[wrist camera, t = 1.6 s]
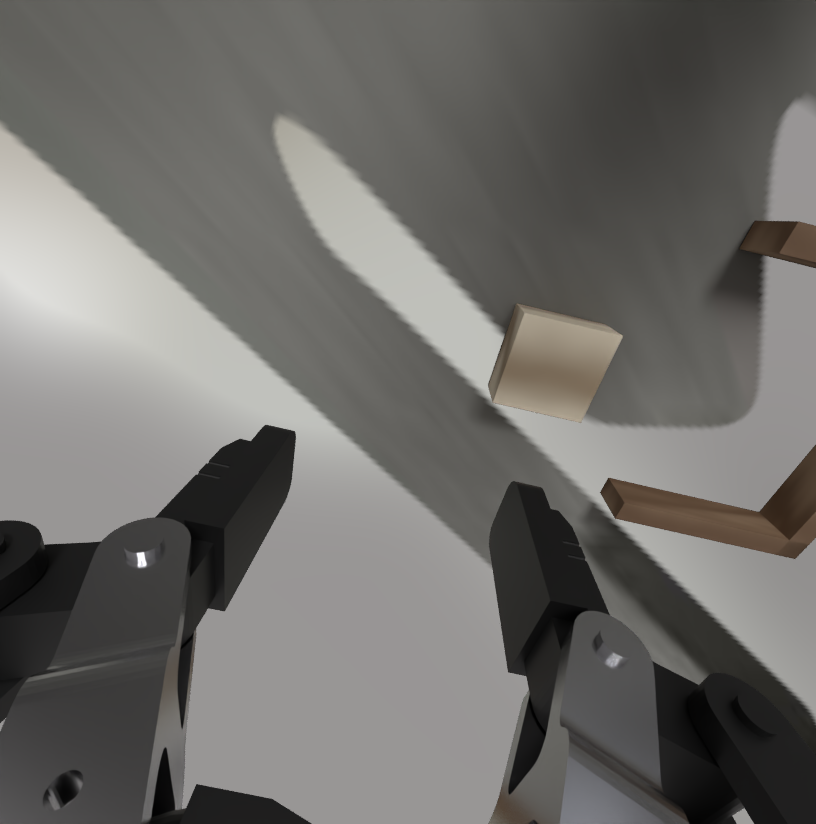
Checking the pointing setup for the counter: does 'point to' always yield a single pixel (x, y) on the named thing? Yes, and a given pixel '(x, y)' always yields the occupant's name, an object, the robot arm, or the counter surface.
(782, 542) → the wooden u-shaped bracket
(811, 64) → the counter surface
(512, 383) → the maple tile
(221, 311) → the counter surface
